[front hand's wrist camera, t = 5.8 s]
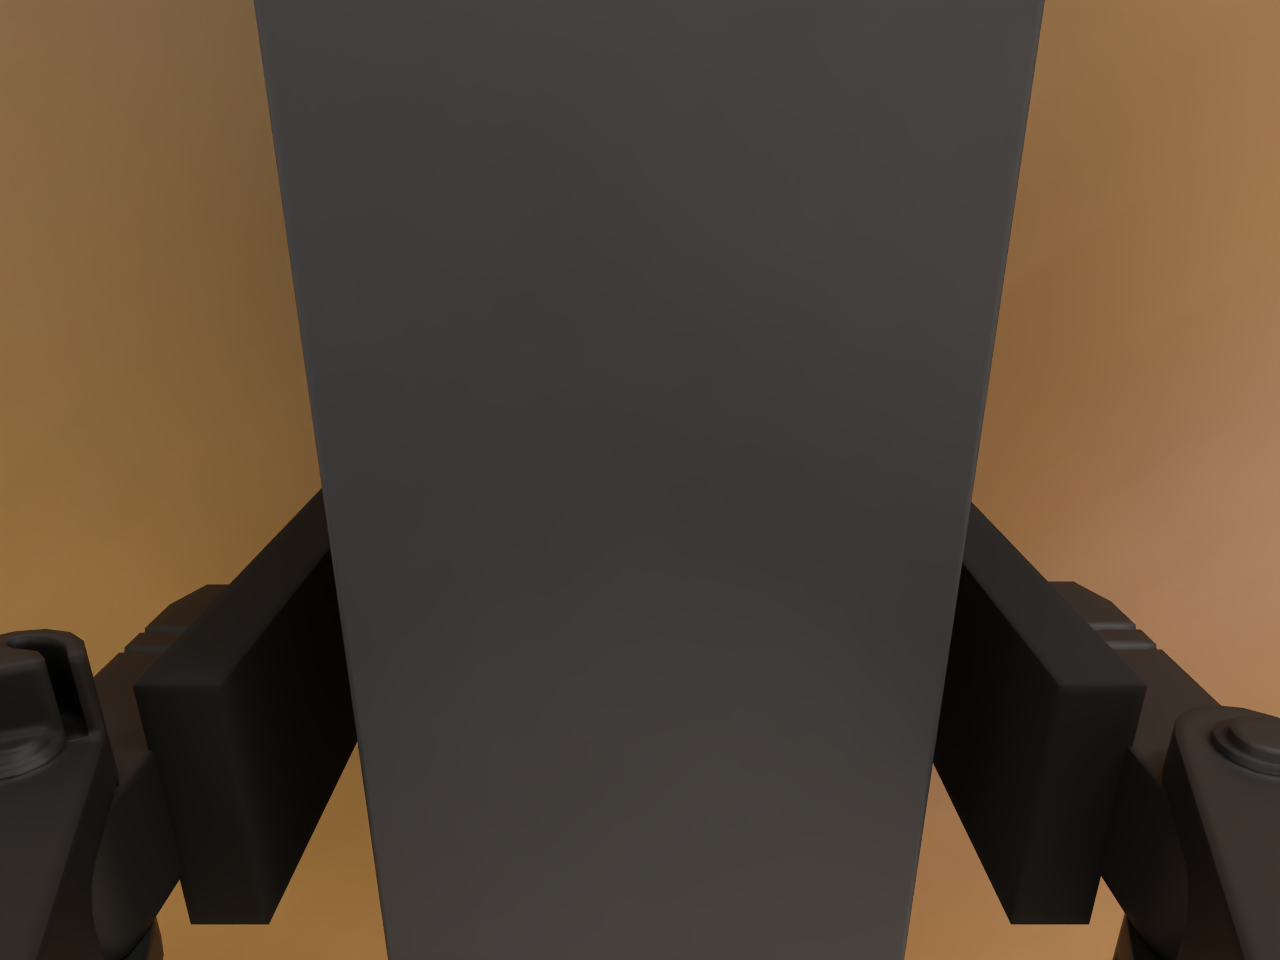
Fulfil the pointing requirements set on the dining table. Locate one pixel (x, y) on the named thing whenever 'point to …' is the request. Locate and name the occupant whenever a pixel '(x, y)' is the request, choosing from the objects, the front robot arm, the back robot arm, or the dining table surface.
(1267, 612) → the dining table surface
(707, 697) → the post
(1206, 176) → the dining table surface
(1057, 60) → the dining table surface
